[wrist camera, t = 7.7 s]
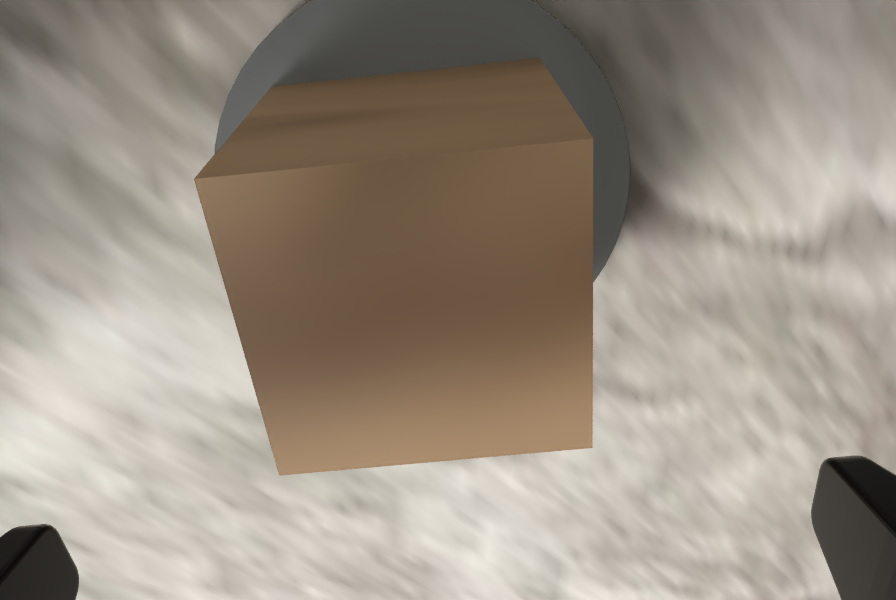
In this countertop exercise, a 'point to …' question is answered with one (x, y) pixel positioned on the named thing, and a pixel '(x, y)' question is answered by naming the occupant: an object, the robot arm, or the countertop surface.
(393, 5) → the slate coaster
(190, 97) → the countertop surface
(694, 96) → the countertop surface
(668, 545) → the countertop surface
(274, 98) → the walnut block
